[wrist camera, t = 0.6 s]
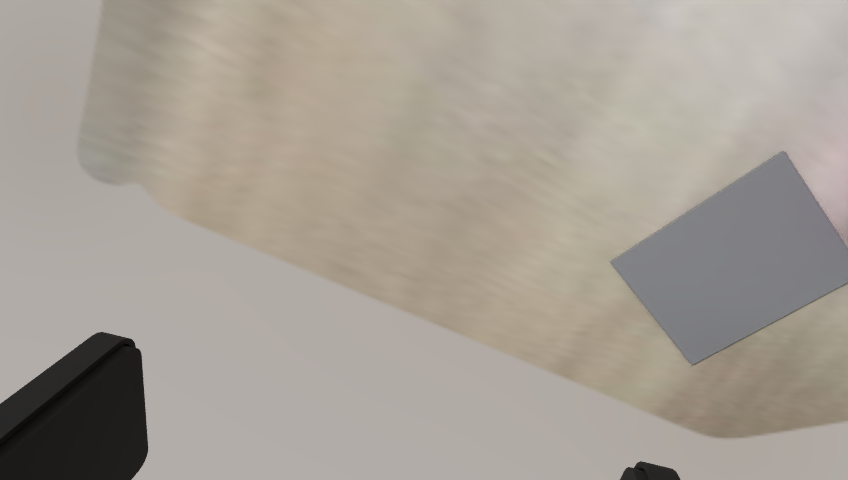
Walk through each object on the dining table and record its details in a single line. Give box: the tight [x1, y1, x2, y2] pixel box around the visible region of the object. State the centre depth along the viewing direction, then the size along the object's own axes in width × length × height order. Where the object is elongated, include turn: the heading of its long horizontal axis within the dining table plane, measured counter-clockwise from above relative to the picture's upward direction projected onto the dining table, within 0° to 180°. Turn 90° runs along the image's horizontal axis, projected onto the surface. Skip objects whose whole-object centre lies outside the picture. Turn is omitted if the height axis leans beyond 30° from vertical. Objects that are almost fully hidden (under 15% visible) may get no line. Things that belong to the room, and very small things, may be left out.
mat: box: [610, 151, 848, 365], centre depth 38 cm, size 14×12×1 cm
